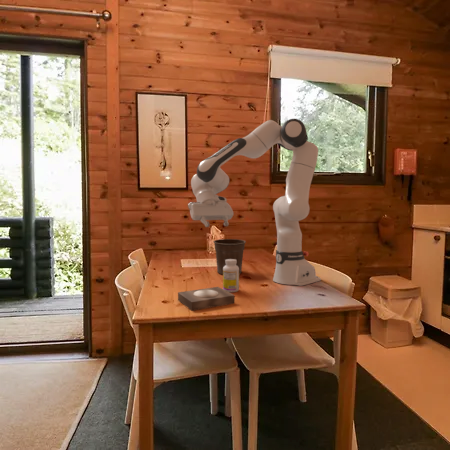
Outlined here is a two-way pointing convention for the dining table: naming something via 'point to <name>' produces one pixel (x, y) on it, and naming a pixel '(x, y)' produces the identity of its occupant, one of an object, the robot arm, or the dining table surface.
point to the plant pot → (229, 252)
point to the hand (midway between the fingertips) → (217, 225)
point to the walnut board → (205, 298)
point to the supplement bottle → (231, 276)
